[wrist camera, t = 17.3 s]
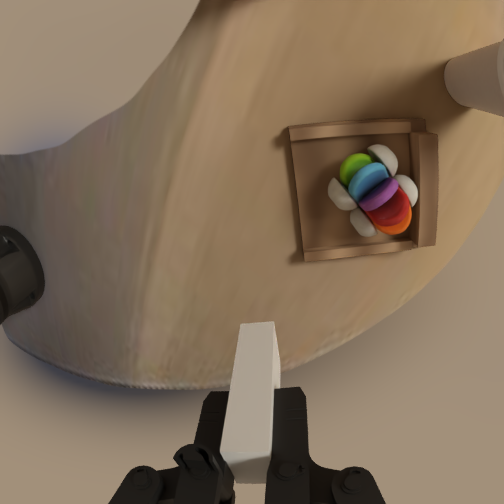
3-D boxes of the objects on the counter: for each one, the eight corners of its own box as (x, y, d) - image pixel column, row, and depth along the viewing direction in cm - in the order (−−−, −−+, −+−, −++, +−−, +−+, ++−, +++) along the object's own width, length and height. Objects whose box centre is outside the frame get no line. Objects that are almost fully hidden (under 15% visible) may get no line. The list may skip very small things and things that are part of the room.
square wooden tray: (303, 257, 39) (306, 272, 36) (288, 126, 33) (289, 128, 29) (422, 243, 37) (434, 256, 34) (422, 118, 31) (436, 120, 27)
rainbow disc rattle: (364, 239, 37) (381, 267, 30) (314, 178, 34) (323, 195, 28) (417, 196, 34) (444, 217, 27) (371, 131, 31) (394, 137, 25)
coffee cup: (436, 33, 26) (511, 10, 12) (495, 63, 25) (574, 62, 12) (428, 103, 30) (506, 110, 16) (486, 128, 30) (566, 151, 16)
